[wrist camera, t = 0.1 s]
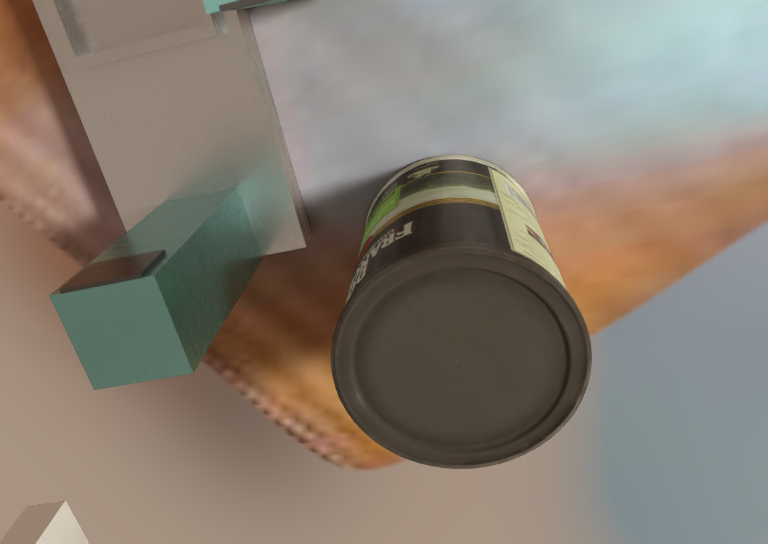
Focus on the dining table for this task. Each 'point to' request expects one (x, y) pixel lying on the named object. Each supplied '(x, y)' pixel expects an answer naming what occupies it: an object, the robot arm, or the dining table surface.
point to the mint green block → (235, 4)
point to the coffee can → (458, 321)
